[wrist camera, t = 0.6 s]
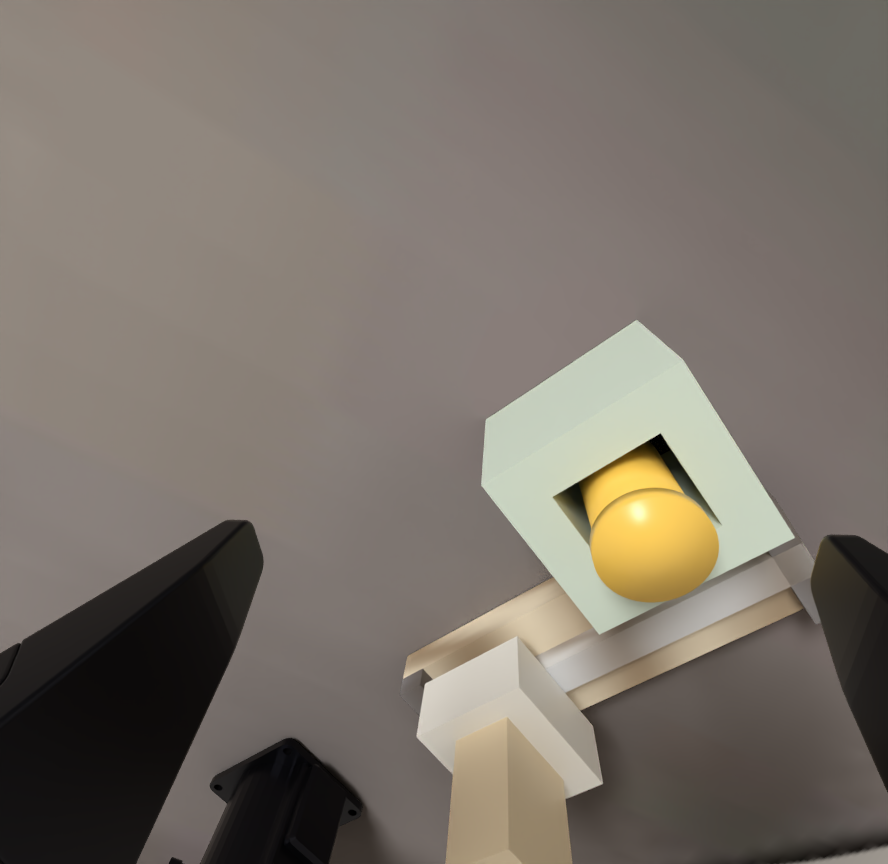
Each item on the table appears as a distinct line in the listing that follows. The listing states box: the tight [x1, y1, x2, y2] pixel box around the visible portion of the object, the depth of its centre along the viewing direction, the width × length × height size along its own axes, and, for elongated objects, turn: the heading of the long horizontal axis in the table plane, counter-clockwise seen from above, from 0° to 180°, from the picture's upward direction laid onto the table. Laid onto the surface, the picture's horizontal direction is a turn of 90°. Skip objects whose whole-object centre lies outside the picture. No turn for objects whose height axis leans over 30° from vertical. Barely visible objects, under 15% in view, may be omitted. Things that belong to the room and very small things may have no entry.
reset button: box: [578, 441, 719, 603], centre depth 19 cm, size 3×3×5 cm
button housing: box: [481, 320, 795, 635], centre depth 21 cm, size 7×7×6 cm
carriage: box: [417, 636, 603, 864], centre depth 22 cm, size 5×6×8 cm
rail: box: [400, 485, 821, 717], centre depth 26 cm, size 18×6×2 cm, turn 127°
